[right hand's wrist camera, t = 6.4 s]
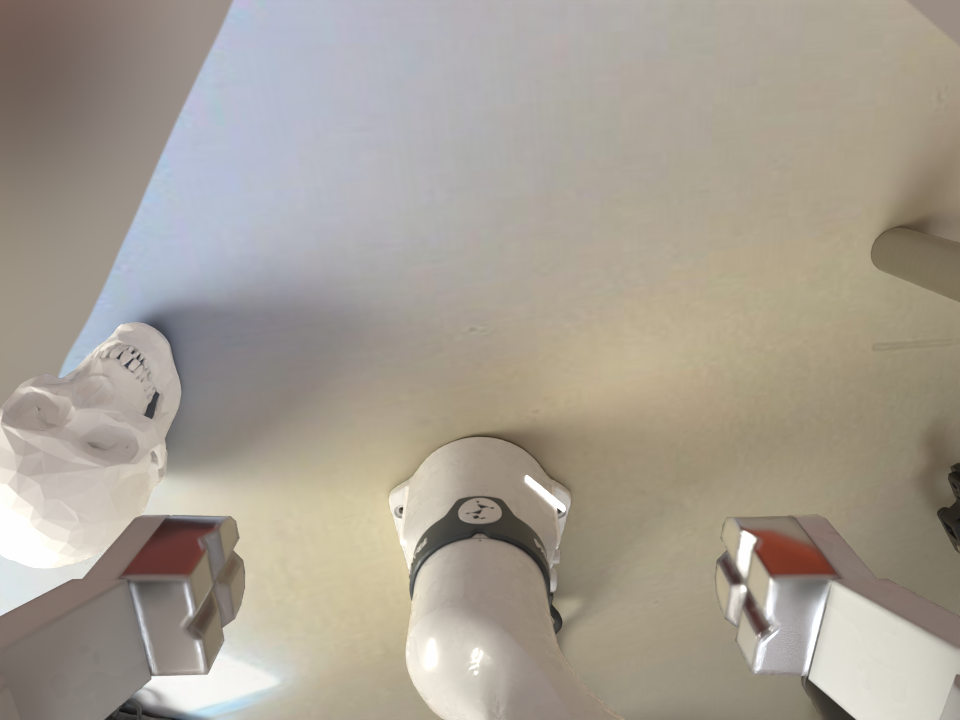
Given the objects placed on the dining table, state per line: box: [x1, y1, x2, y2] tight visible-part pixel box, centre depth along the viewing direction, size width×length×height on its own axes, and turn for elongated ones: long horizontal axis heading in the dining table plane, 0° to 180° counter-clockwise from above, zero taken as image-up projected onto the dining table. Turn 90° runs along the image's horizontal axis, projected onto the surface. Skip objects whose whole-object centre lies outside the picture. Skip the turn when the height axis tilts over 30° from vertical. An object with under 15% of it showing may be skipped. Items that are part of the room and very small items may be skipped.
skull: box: [0, 322, 182, 568], centre depth 56 cm, size 13×22×16 cm, turn 156°
